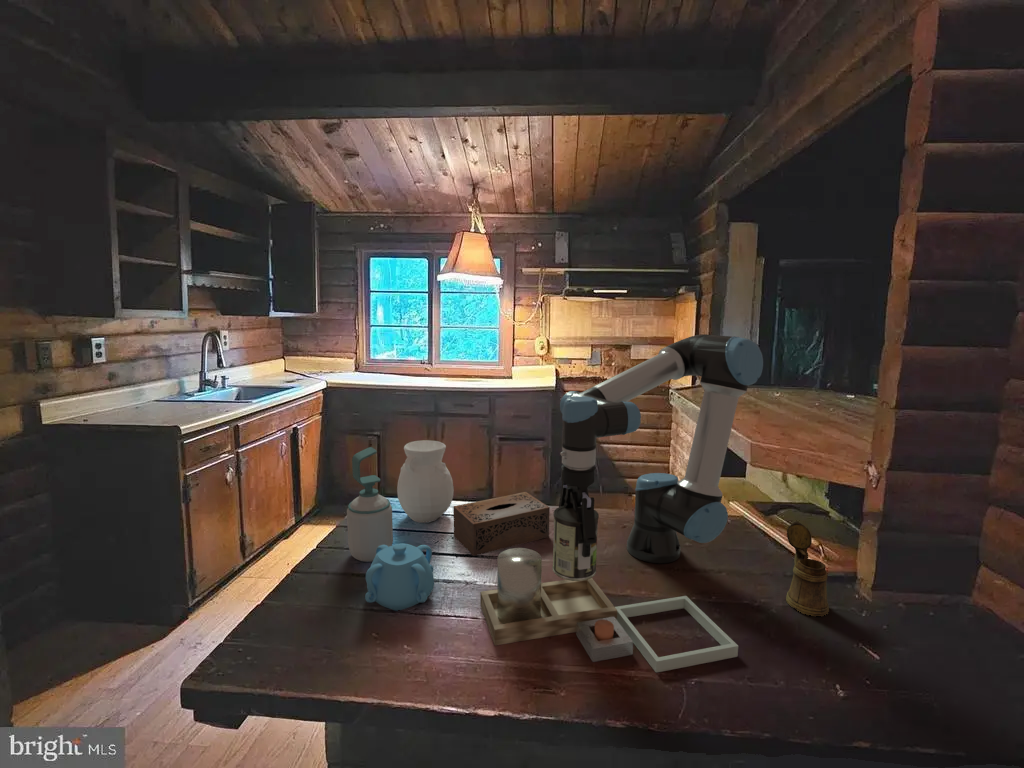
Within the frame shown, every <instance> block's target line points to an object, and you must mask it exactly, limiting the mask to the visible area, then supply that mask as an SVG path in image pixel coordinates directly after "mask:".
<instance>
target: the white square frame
mask: <svg viewBox="0 0 1024 768" xmlns="http://www.w3.org/2000/svg"><path fill="white" fill-rule="evenodd" d="M614 607H615V608H616V609H617V621H618V622H619V624H620V625H621V626H622V628H623V629H624V630H625V632H626V633H627V634H628V636H629V637H630V638H631V640H632V641H633V645H634V646H635V647H636V648H637V650H638V651H639V652H640V654H641V655H642V656H643V658H644V659H645V661H647V663H648V664H649V666H650V667H651V668H652V670H653V671H654V672H655V673H662V672H666V671H671V670H676V669H681V668H687V667H692V666H697V665H701V664H706V663H707V664H708V663H713V662H718V661H722V660H727V659H732V658H737V657H738V653H739V645H738V644H737V643H736V642H735V641H734V640H733V639H732V638H731V637H730V636H729V635H728V634H727V633H726V632H725V631H723V630H722V628H720V627H719V626H718V625H717V624H716V623H715V622H714V621H713V620H712V619H711V618H710V617H709V616H708V615H707V614H706V613H705V612H704V611H703V610H702V609H700V608H699V607H698V606H697V605H696V603H694V602H693V601H692V600H691V599H690V598H689V597H688V596H687V595H682V596H677V597H670V598H669V597H668V598H662V599H657V600H651V601H644V602H638V603H632V604H631V603H630V604H624V605H619V606H614ZM681 609H684V610H685V611H686V612H687V613H688V614H690V615H691V617H692V618H693V619H694V620H695V621H696V622H697V623H698V624H700V626H701V627H702V628H703V629H704V630H705V632H707V633H708V634H709V635H710V636H711V637H712V638H713V639H714V640H715V641H716V642H717V643H719V645H717V646H712V647H706V648H700V649H695V650H690V651H685V652H680V653H674V654H670V655H665V656H663V655H662V656H658V655H657V654H656V652H655V651H654V650H653V648H652V647H651V646H650V645H649V643H648V642H647V641H646V640H645V638H644V637H643V636H642V635H641V634H640V631H638V629H637V628H636V627H635V626H634V624H633V623H632V622H631V621H630V620H629V618H632V617H637V616H643V615H644V616H645V615H650V614H651V615H652V614H656V613H661V612H668V611H669V612H670V611H674V610H681Z"/></svg>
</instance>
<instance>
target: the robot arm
mask: <svg viewBox="0 0 1024 768" xmlns="http://www.w3.org/2000/svg"><path fill="white" fill-rule="evenodd" d="M763 357H764V356H763V353H762V350H761V349H760V346H759V345H758V344H757V343H756V341H753V340H752V339H749V338H744V337H739V336H729V335H728V336H727V335H716V334H715V335H714V334H713V335H712V334H708V333H707V334H704V333H703V334H695V335H693V336H688V337H686V338H682V339H680V340H678V341H675V342H674V343H671V344H668V345H667V346H665V347H663V348H660V350H659V351H658V353H657V355H654V356H653V357H651V358H648V359H646V360H644V361H643V362H640V363H638V364H637V365H635V366H632V367H630V368H628V369H626V370H624V371H622V372H620V373H617V374H615V375H614V376H612V377H611V378H608V379H606V380H604V381H603V382H600V383H597V384H596V385H594V386H592V387H589V388H587V389H586V390H584V391H578V390H570V391H568V392H566V393H565V394H564V395H562V397H561V399H560V402H559V403H560V404H559V409H560V413H561V414H562V417H561V418H562V438H561V440H562V441H561V442H562V445H561V452H559V455H560V456H561V464H562V465H561V468H560V469H561V471H560V472H561V473H560V478H561V479H560V480H561V489H560V491H561V492H560V497H559V502H558V507H561V506H565V508H573V509H574V512H576V515H577V521H579V522H580V523H581V522H583V524H580V526H579V534H580V541H577V542H578V569H579V570H581V569H589V568H590V558H591V544H593V543H596V529H595V516H594V510H595V498H594V497H590V496H589V491H588V489H589V487H590V486H592V485H593V484H594V483H595V475H596V473H595V471H596V469H595V467H594V466H595V465H596V457H597V456H596V455H597V439H598V438H605V437H606V438H607V437H614V436H620V435H623V436H624V435H627V434H631V433H634V432H636V431H637V430H638V429H639V428H640V426H641V422H642V419H641V418H642V414H641V411H640V409H639V408H640V407H638V406H637V404H635V403H634V402H632V401H631V400H634V399H635V398H637V397H639V396H641V395H643V394H644V393H647V392H648V391H651V390H653V389H655V388H656V387H658V386H660V385H662V384H664V383H667V382H668V381H670V380H673V381H677V380H681V379H682V378H684V377H689V376H690V377H692V376H697V377H700V381H699V384H700V386H701V388H702V389H703V395H702V399H701V400H702V401H701V404H700V409H699V413H698V417H697V421H696V426H695V429H694V430H695V431H694V434H693V435H694V436H693V439H692V444H691V448H690V452H689V457H688V460H687V461H688V462H687V465H686V470H685V474H684V477H683V478H682V479H680V480H679V477H678V476H677V475H675V474H671V473H664V472H662V473H661V472H654V473H653V472H650V473H645V474H642V475H640V476H638V478H637V480H636V483H635V493H634V498H635V499H634V520H633V521H634V522H633V525H632V528H631V530H630V533H629V535H628V538H627V541H626V549H627V552H628V553H629V554H630V555H631V556H632V557H634V558H635V559H638V560H640V561H643V562H646V563H652V564H667V563H668V564H669V563H672V562H676V561H677V560H678V559H680V556H681V544H680V541H679V540H680V539H679V538H678V534H681V535H682V536H683V537H684V538H686V539H688V540H692V541H695V542H696V543H700V544H707V543H710V542H712V541H714V540H715V539H716V538H717V537H719V536H720V535H721V533H722V532H723V531H724V529H725V527H726V525H727V522H728V518H729V513H728V509H727V507H726V506H725V505H724V503H722V499H723V495H724V494H723V492H722V490H721V489H720V488H719V483H720V479H721V476H722V470H723V468H724V462H725V459H726V454H727V449H728V445H729V442H730V441H729V440H730V436H731V433H732V428H733V425H734V424H733V423H734V419H735V416H736V412H737V411H736V410H737V406H738V403H739V398H740V397H741V396H743V395H745V394H746V393H747V392H748V387H749V386H751V385H753V384H756V383H757V382H758V379H760V377H761V376H762V373H763V368H764V358H763ZM578 507H581V508H578ZM677 533H678V534H677Z"/></svg>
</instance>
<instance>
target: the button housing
mask: <svg viewBox="0 0 1024 768" xmlns="http://www.w3.org/2000/svg"><path fill="white" fill-rule="evenodd" d="M598 620H607V621H610V622H611V623H612V624H613V625H614V635H613V639H608V640H602V641H598V640H597V639H596V637H595V636H594V635H595V623H596V622H597V621H598ZM575 635H576V637H577V639H578V640H579V642H580V644H581V645H582V647H583V648H584V650H585V652H586V654H587V655H588V657H589V658H590V661H591V662H592V663H595V662H596V663H597V662H601V661H605V660H611V659H617V658H622V657H623V658H624V657H627V656H633V652H634V651H633V650H634V643H633V641H632V640H631V638H630V637H629V636H628V634H627V633H626V632H625V630H624V629H623V628H622V626H621V625H620V624H619V622H618V621H617V620H616V618H615V617H608V618H601V619H595V620H589V621H583V622H577V624H576V632H575Z"/></svg>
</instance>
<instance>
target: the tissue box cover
mask: <svg viewBox="0 0 1024 768" xmlns="http://www.w3.org/2000/svg"><path fill="white" fill-rule="evenodd" d="M452 507H453V508H452V509H453V537H454V538H455V539H456V540H457V541H458V543H460V544H461V545H462V546H463V547H464V548H465V549H466V551H468V553H470V554H471V556H473V557H476V556H479V555H483V554H487V553H492V552H495V551H499V550H503V549H507V548H512V547H515V546H519V545H523V544H526V543H530V542H535V541H539V540H541V539H547V538H549V537H550V512H551V511H550V506H549V505H547V504H546V503H544V502H542V501H541V500H539V499H538V498H536V497H535V496H533V495H532V494H531V493H528V492H527V491H522V492H518V493H513V494H508V495H503V496H497V497H493V498H488V499H483V500H479V501H477V500H476V501H472V502H468V503H463V504H458V505H457V504H456V505H453V506H452Z"/></svg>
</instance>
